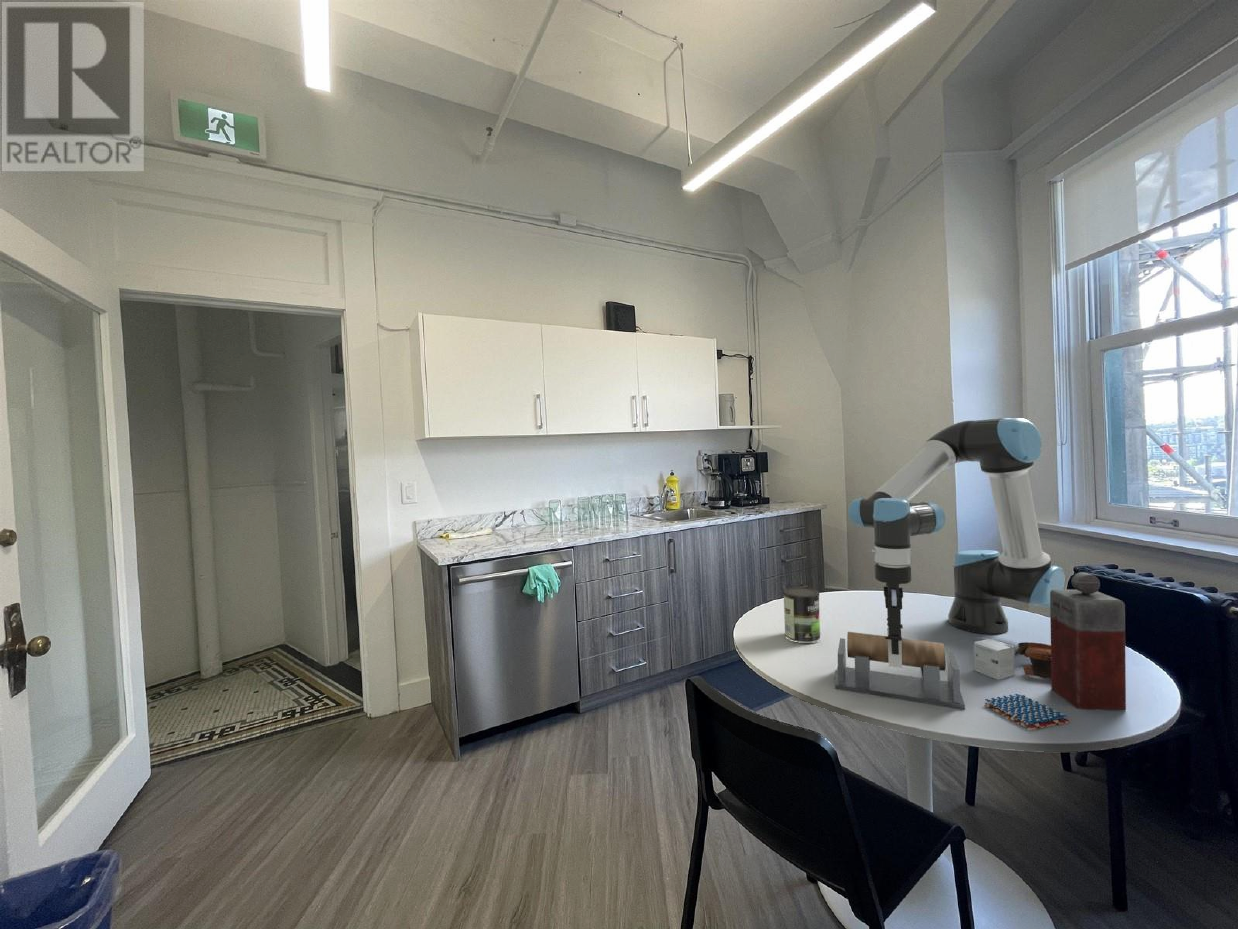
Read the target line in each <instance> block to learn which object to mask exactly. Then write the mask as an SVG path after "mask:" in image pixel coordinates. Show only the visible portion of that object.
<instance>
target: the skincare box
mask: <svg viewBox="0 0 1238 929" xmlns="http://www.w3.org/2000/svg"><path fill="white" fill-rule="evenodd" d="M973 670H974V671H975V672H978V673H980V674H983V675H985V676H987V677H989V678H992V679H995V680H997V681H999V680H1004V679H1006V678H1010V677H1013V676H1014V675H1015V646H1013V645H1010V644H1007V643H1004V642H1001V641H998V640H995V639H992V638H987V639H983V640H978V641H975V642H973Z"/></svg>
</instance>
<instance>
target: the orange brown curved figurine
mask: <svg viewBox="0 0 1238 929" xmlns="http://www.w3.org/2000/svg"><path fill="white" fill-rule="evenodd" d="M1017 645H1018V647H1017V648H1016V650H1015V651H1014V656H1017V655H1020V656H1024V657H1026V658H1029V660H1030V665H1023V666H1022V668H1023V671H1024V675H1025V676H1030V677H1038V678H1039V677H1040V678H1043V679H1047V680H1051V644H1046V643H1040V642H1026V641H1025V642H1019V643H1017Z"/></svg>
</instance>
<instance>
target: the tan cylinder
mask: <svg viewBox="0 0 1238 929" xmlns="http://www.w3.org/2000/svg"><path fill="white" fill-rule="evenodd" d="M885 636H886V635H878V634H871V633H862V632H861V633H860V632H853V631H847V636H846V638H847V639H846V641H847V642H846V643H847V644H846V656H847V658H849V659H850V658H852V659H855V654H859V655H866V656H869V660H870V661H872V662H879V663H885V664H886V663H887V664H889V659H888V639H885ZM901 644H902V666H907V667H914V668H923V663H928V664H935V665H939V667H940V672H945V671H946V665H947V660H946V649H945V644H944V642H935V641H929V640H919V639H913V638H903V637H902V640H901Z"/></svg>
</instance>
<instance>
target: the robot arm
mask: <svg viewBox="0 0 1238 929" xmlns="http://www.w3.org/2000/svg"><path fill="white" fill-rule="evenodd" d="M1042 444H1043V443H1042V438H1041V434H1040V432H1039V430H1038V428H1037V427H1036V425H1035V424H1034V423H1033V422H1031V421H1030V420H1028V419H1025V418H1022V417H1020V418H1019V417H1017V418H1016V417H1014V418H1011V417H1004V418H1001V417H1000V418H991V419H980V420H965V421H960V422H957V423H953V424H951V425H949V426H946V427H945V428H944V429H942V430H940V431H939V432H937V433H936V434H934V435H932V436H931V437H930V438H928V439H927V440H926V441H925V442H924V443H923V444H922V445H921V447H920V451H919V452H918V453H916V454H915V456H914V457H912V458H911V459H910V460H909V461H908V462H907V463H906V464H905V465H903V466H902V467H901V468H900V469H899V470H898V471H897V472H896V473H895V474H893V475H892V476H891V477H890V478H889V479H888V480H887V481H885V483H883V484H882V485H881V486H880V487H879V488H877V489H876V491H874V492H873V493H872V495H870V496H869V497H868V498H863V497H862V498H856V499H853V500H852V501H851V502H850V503H849V505H848V509H847V514H848V516H847V517H848V518H849V520H850V522H851V523H852V524H853V525H855V526H857V527H863V528H866V529H873V532H874V533H873V534H874V548H872V549H871V553H873V554H874V562H875V564H874V578H875V580H877V582H881V583H885V585H886V586H883V596H884V602H885V608H886V609H887V611H886V612H887V613H886V614H887V618H886V621H887V623H886V624H887V625H886V626H887V635H884V636H885V639H888V659H889V663H888V667H891V668H897V669H898V668H899V669H902V668H903V665H902V644H901V640H902V638H903V637H902V630H903V629H904V628H903V626H904V625H903V624H902V618H901V616H902V614H901V610H902V609H903V598H904V592H903V591H904V590H903V587H900V585H902V584H903V585H905V584H909V583H911V581H912V568H911V567H912V566H910V565H911V564H912V550H911V549H912V547H911V537H914V536H915V537H916V536H921V535H930V534H933V533H935V532H939V531H940V530H942V528H943V527H944V526H945V524H946V520H947V519H946V515H945V512H944V509H943V508H942V507H941V506H940V505H938V503H937V504H936V503H934V502H928V501H927V502H925V501H921V502H910V501H911V500H912V499H913V498H914V497H915V496H916V495H917V494H919V492H921V490H922V489H924V488H925V487H926V486H927V485H928V484H929V483H930V482H931V481H932V480H933V479H934V478H936V476H938V475H939V474H940V473H941V472H942V471H943V470H947V469H950V468H952V467H953V466H954V465H956V464H957V463H962V462H978V463H979V465H980V471H981V472H983V473H984V474H986V475H988V477H989V478H988V479H989V483H990V488H991V493H992V499H993V502H994V509H995V514H996V520H997V525H998V530H999V536H1000V541H1001V546H1002V551H1003V552H1002V553H1001V554H1000V552H999V551H998V550H992V549H974V550H973V549H972V550H971V549H970V550H963V551H958V552H956V553H955V554H954V556H953V565H952V567H953V583H954V584H953V586H954V590H953V591H954V598H953V602H952V603H951V606H950V609H949V612H948V614H947V615H948V617H947V618H948V623H949V624H950V625H951V626H952V627H955V628H958V629H960V630H964V631H968V632H972V633H976V634H977V633H979V634H990V635H991V634H992V635H993V634H995V635H997V634H1004V633H1006V632H1008V630H1009V621H1008V618H1007V616H1006V613H1005V612H1004V608H1003V606H1002V603H1001V599H1006V600H1011V601H1015V602H1020V603H1023V604H1029V605H1031V606H1036V607H1037V606H1038V607H1044V608H1048V607H1049V608H1050V592H1051V590H1055V589H1064V586H1065V580H1066V579H1065V577H1066V576H1065V572H1064V570H1063V568H1062V567H1060V566H1058V565H1053V564H1052V559H1051V556H1050V554H1048V553H1046V552H1045V551H1043V548H1042V543H1041V537H1040V532H1039V526H1038V519H1037V515H1036V508H1035V503H1034V498H1033V493H1032V488H1031V487H1032V486H1031V480H1030V476H1029V471H1030V470H1031V469H1032V468H1033V467H1034V465H1035V461H1037V460H1038V459H1039V458H1040V455H1041V453H1042V449H1041V448H1042V447H1043V446H1042Z"/></svg>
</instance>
